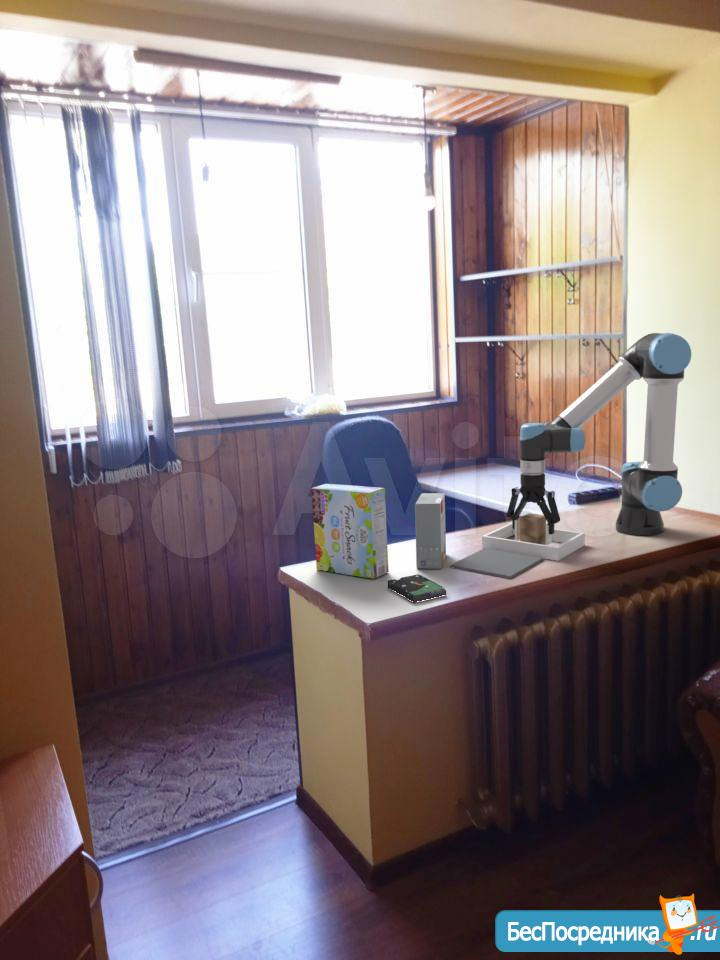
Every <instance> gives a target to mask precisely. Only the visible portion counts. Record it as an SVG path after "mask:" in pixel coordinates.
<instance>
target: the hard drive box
mask: <svg viewBox="0 0 720 960" xmlns="http://www.w3.org/2000/svg"><path fill="white" fill-rule="evenodd" d="M445 494H446V493H441V492H439V493H436V492H435V493H434V492H433V493H430V492H429V493H427V492H426V493H425V492H424V493H423V492H422V493H421V494H420V495H419V496H418V498H417V500H416V502H415V504H414V516H415V559H416V561H415V563H416V564H415V565H416V566H415V567H416V569H428V570H429V569H431V570H432V569H433V570H434V569H436V570H437V569H439V570H441V569H442V568H443V565H444V562H445V559H446V555H447V537H446V536H447V533H446V532H447V531H446V509H445V508H446V497H445V496H446V495H445Z"/></svg>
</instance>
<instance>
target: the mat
mask: <svg viewBox="0 0 720 960" xmlns="http://www.w3.org/2000/svg"><path fill="white" fill-rule="evenodd" d="M543 561H544V559H543V557H537V556H531V555H525V554H518V553H512V552H506V551H500V550H494V549H488V548H481V549H480V550H477V552H474V553H472V554H470V555H468V556H466V557H464V558H460V559H459V560H457V561H455V562H453V563H451V564H450V566H449V567H450V568H451V567H454V568H453V569H456V568H458V569H457V570H461V569H462V570H463V571H467V572H474V573H479V574H483V575H488V576H492V577H493V576H494V577H499V578H503V577H504V578H503V579H510V580H511V579H512V578H515V577H516V576H518V575H520V574H521V573H523V572H525V571H527V570H528V569H530V568H532V567H534V566H535V565H537V564H539V563H541V562H543Z"/></svg>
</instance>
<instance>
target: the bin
mask: <svg viewBox="0 0 720 960" xmlns="http://www.w3.org/2000/svg"><path fill="white" fill-rule="evenodd" d="M514 535H515V529H513V527H512V522H510V523H508V524H506V525H503V526H501V527H498V528H496V529H495V530H493V531H491V532H488V533H486V534H484V535H482V536H481V549H484V548H488V549H494V550H500V551H506V552H512V553H518V554H525V555H531V556H537V557H543V560H544V559H545V560H549V559H550V561H551V560H552V561H555V560H556V562H557V561H560V560H562V559H564V558H565V557H567V556H568V555H570V554H572V553H575V551H577V550H579V549H581V548H583V546H585V544H586V543H585V542H586V540H585V539H586V534H585V532H581V531H573V530H566V529H558V528H554V534H552V542H556V543H560V544H558V545H557V546H554V545H542V544H535V543H529V542H523V541H520V540H515V539H509V537H512V536H514Z"/></svg>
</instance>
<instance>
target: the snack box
mask: <svg viewBox="0 0 720 960" xmlns="http://www.w3.org/2000/svg"><path fill="white" fill-rule="evenodd" d="M310 489H311V501H312V517H313V532H314V533H313V534H314V548H315V549H314V550H315V562H316V563H315V565H316V571H319V570H324V571H323V572H326V571H329V573H333V572H335V573H334V574H339V573H340V574H341V575H345V576H346V575H347V576H353V577H360V578H366V579H373V580H374V579H377V578H379V577H382V576H384V575H385V574H387V573H389V570H390V569H389V556H388V555H389V554H388V552H389V549H388V533H387V531H388V529H387V510H386V508H387V506H386V488H385V487H375V486H363V485H351V484H350V485H349V484H337V483H335V484H334V483H324V484H321V485H318V486H314V487H311V488H310Z"/></svg>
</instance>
